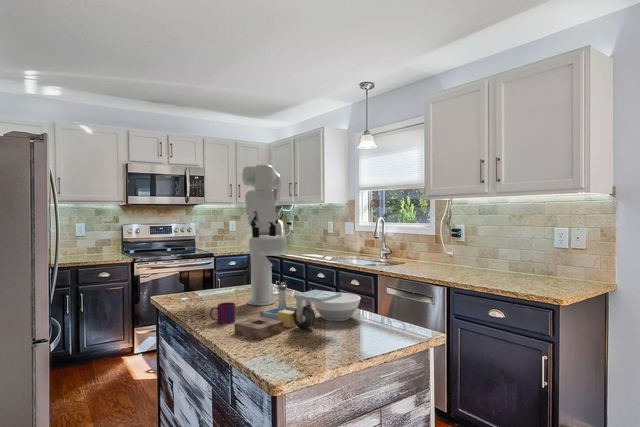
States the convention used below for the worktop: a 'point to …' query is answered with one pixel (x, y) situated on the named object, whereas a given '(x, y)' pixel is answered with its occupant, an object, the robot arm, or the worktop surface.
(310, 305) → the caster wheel
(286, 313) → the block
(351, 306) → the bowl
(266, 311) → the tray
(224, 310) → the mug
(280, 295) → the pin
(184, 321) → the worktop surface
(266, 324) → the socket block
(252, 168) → the robot arm
